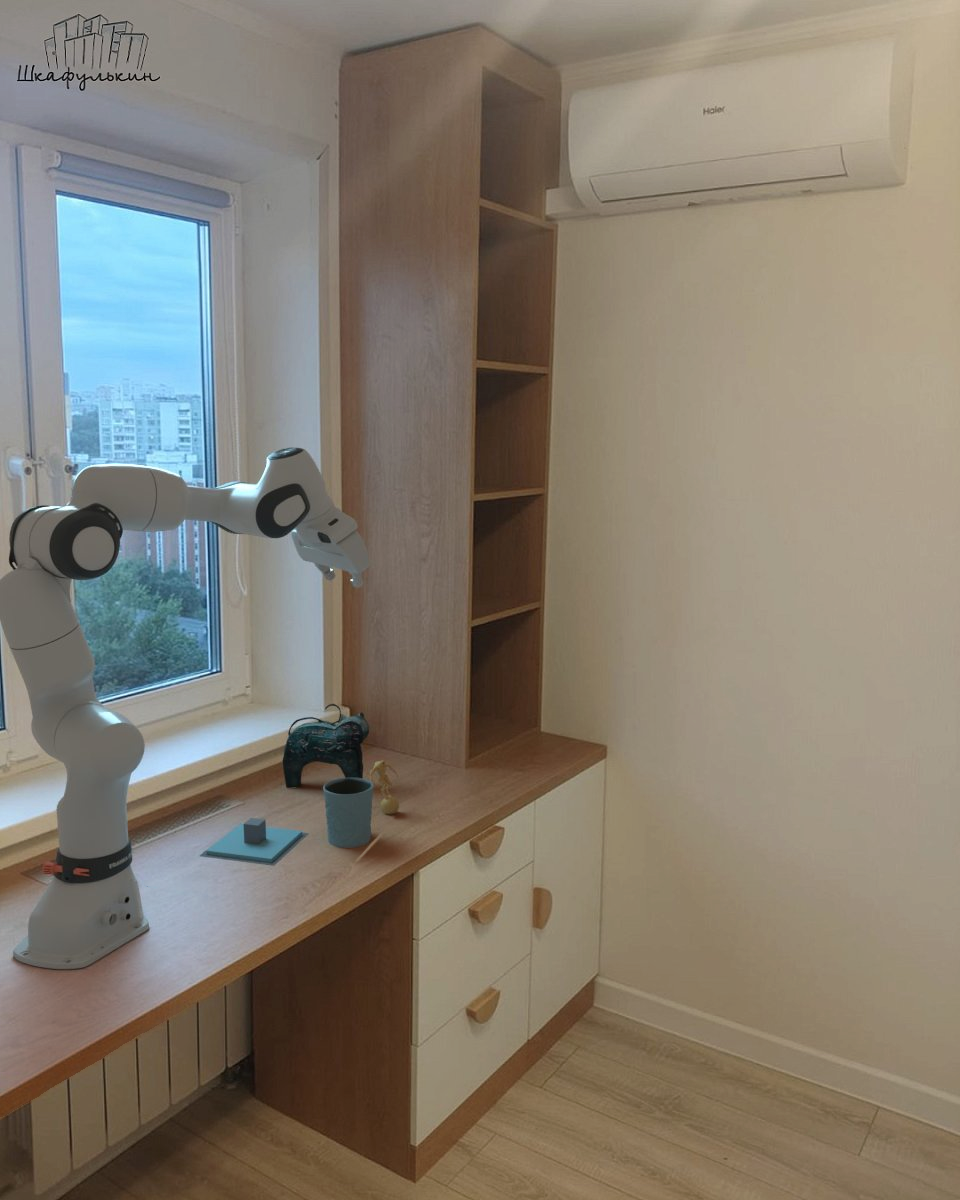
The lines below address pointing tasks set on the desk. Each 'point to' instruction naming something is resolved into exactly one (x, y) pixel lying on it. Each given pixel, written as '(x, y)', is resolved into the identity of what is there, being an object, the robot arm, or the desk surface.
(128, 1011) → the desk surface
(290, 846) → the mat
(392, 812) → the figurine
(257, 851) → the lid
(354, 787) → the blue grey bin
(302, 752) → the ceramic cat
